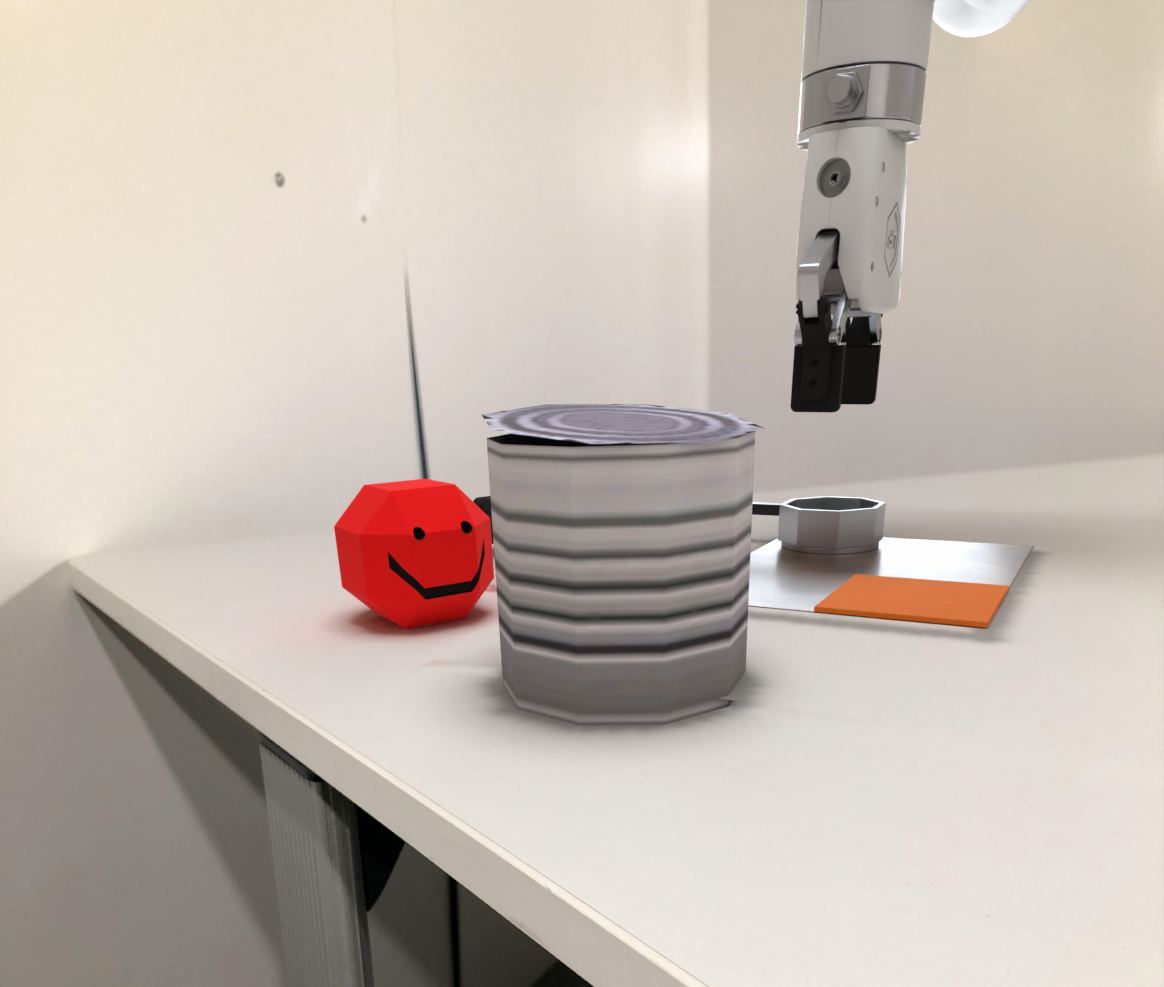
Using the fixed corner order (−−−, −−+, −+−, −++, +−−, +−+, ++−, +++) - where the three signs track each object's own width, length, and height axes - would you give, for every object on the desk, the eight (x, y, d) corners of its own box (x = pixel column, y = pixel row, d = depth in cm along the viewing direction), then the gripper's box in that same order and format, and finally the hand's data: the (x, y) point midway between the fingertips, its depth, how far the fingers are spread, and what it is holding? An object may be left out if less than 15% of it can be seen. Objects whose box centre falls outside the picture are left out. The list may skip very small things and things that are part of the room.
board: (788, 539, 76) (788, 531, 76) (1033, 553, 68) (1034, 545, 68) (665, 607, 57) (665, 597, 57) (985, 639, 49) (987, 628, 49)
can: (694, 640, 51) (698, 397, 46) (791, 708, 40) (810, 406, 36) (481, 662, 48) (462, 408, 43) (528, 742, 38) (510, 421, 33)
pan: (888, 539, 72) (892, 498, 70) (865, 557, 66) (869, 512, 65) (727, 530, 77) (728, 492, 76) (694, 545, 72) (694, 504, 71)
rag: (854, 578, 60) (855, 574, 60) (1008, 590, 56) (1009, 585, 56) (813, 611, 53) (814, 606, 53) (986, 628, 49) (987, 622, 49)
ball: (386, 643, 52) (369, 498, 49) (334, 615, 58) (316, 485, 55) (513, 618, 56) (505, 483, 53) (452, 594, 62) (441, 472, 59)
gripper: (890, 75, 51) (858, 416, 58) (946, 132, 65) (915, 401, 72) (756, 95, 54) (740, 414, 61) (836, 144, 68) (816, 401, 75)
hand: (834, 407), depth 67 cm, fingers open, 9 cm apart
